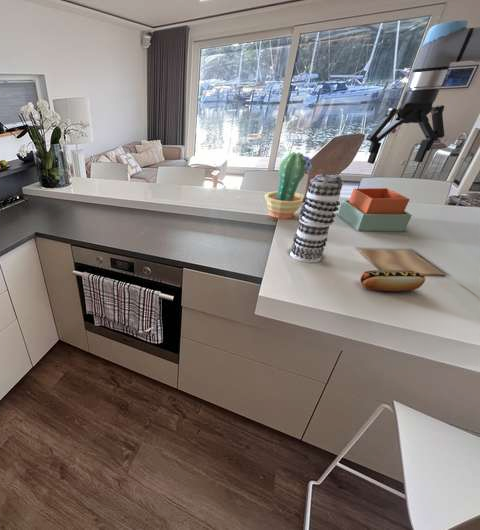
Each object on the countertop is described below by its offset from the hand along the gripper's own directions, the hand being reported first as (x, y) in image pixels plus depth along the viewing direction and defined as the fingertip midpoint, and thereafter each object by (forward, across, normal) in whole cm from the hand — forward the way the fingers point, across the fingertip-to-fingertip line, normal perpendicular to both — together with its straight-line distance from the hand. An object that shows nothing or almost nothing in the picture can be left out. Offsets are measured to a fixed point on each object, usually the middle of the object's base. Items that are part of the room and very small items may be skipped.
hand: (393, 162), depth 96 cm
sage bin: (+22, 0, 0) cm, 22 cm away
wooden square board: (+22, +7, +29) cm, 38 cm away
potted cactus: (+23, +28, -10) cm, 37 cm away
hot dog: (+23, +17, +44) cm, 52 cm away
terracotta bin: (+22, 0, 0) cm, 22 cm away
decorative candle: (+23, +31, +27) cm, 47 cm away
